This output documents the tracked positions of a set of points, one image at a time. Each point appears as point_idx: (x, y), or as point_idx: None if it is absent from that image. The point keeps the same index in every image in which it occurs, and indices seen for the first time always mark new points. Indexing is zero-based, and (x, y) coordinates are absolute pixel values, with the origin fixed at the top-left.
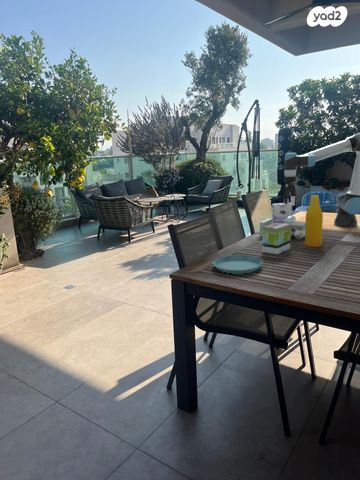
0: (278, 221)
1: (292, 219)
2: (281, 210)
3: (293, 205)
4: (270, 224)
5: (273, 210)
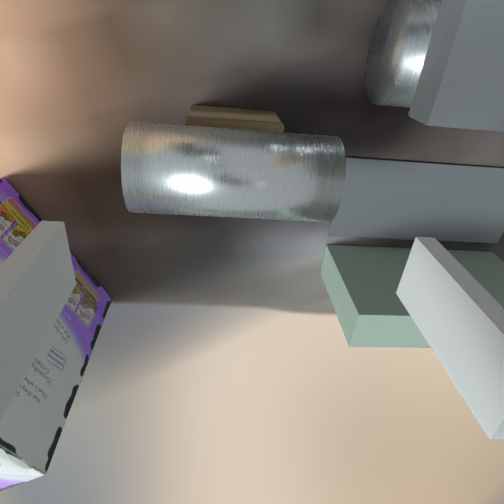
0: (77, 293)
1: (249, 139)
2: None
3: (65, 239)
4: None
5: (69, 409)
